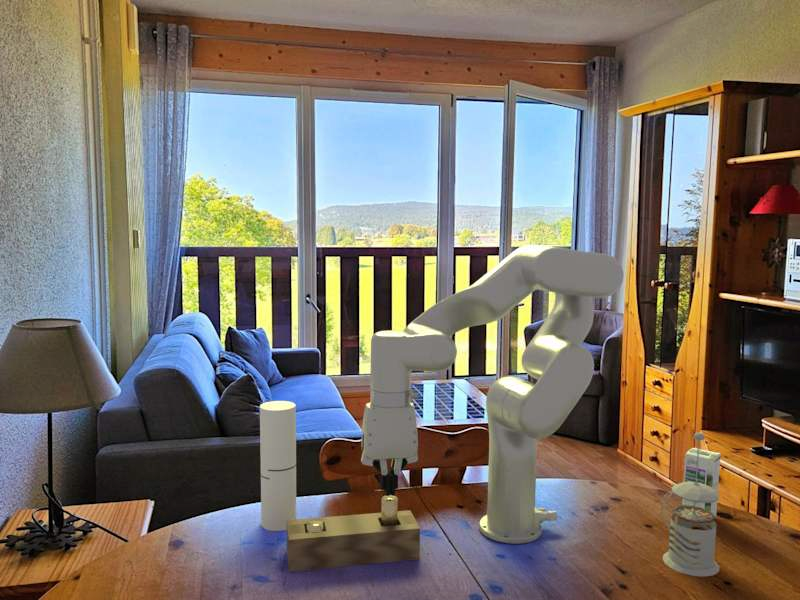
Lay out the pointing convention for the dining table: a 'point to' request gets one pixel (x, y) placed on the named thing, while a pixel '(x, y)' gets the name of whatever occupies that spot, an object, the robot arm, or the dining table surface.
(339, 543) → the tan peg holder block
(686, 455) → the syrup box
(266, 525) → the cylindrical container
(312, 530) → the outer brass pin
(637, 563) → the dining table surface
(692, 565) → the french press
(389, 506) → the inner brass pin
